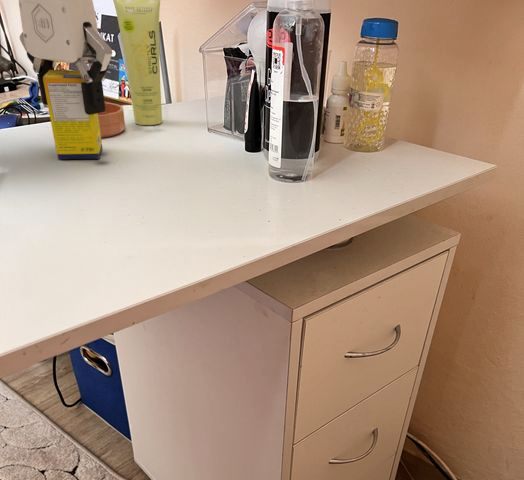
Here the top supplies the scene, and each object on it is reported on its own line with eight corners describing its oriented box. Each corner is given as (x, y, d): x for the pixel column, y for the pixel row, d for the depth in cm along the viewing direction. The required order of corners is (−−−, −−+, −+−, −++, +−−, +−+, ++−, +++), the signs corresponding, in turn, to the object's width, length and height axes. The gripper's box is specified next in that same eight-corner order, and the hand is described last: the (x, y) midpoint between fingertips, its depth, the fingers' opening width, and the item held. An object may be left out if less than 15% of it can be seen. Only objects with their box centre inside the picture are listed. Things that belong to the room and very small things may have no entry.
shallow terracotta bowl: (46, 136, 87) (41, 113, 85) (75, 120, 95) (72, 99, 93) (110, 141, 86) (107, 118, 83) (134, 125, 94) (132, 104, 92)
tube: (147, 128, 93) (135, -6, 82) (125, 123, 95) (111, -8, 84) (168, 122, 97) (160, -7, 85) (147, 117, 99) (136, -9, 88)
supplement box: (102, 148, 82) (92, 69, 76) (99, 159, 78) (88, 77, 71) (62, 148, 82) (48, 68, 75) (57, 160, 77) (42, 76, 70)
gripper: (-21, -48, 67) (11, 102, 77) (74, -43, 59) (97, 123, 70) (29, -46, 72) (54, 95, 82) (123, -41, 65) (137, 113, 75)
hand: (73, 107), depth 76 cm, fingers closed on supplement box, 8 cm apart
